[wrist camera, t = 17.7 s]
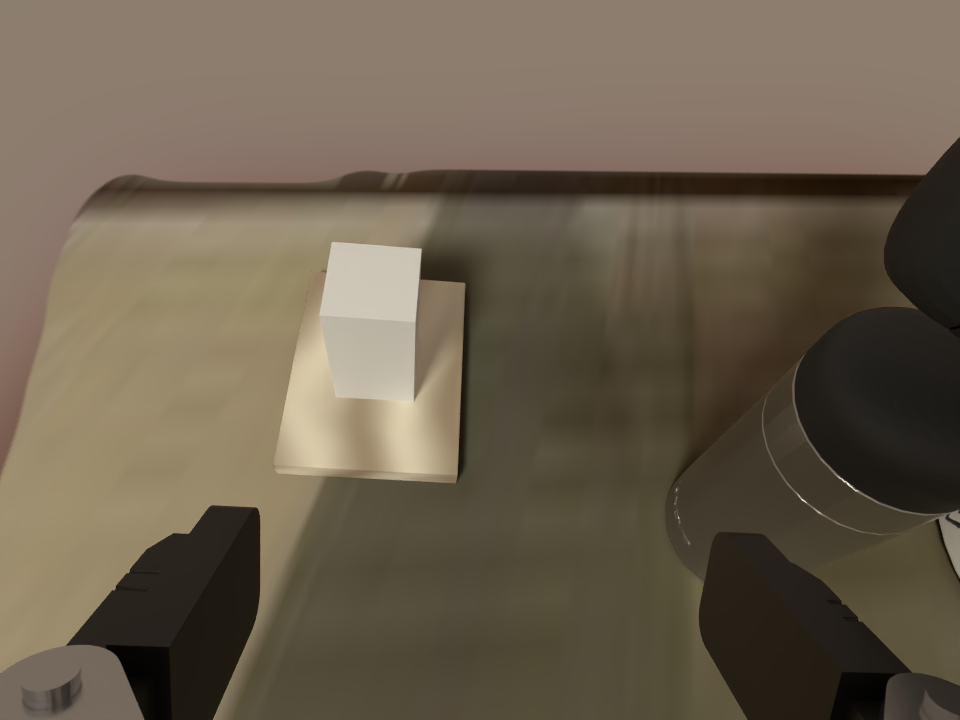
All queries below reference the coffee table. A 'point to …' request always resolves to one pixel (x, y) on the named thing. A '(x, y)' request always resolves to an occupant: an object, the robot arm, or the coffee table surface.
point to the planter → (952, 537)
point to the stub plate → (377, 402)
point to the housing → (372, 320)
